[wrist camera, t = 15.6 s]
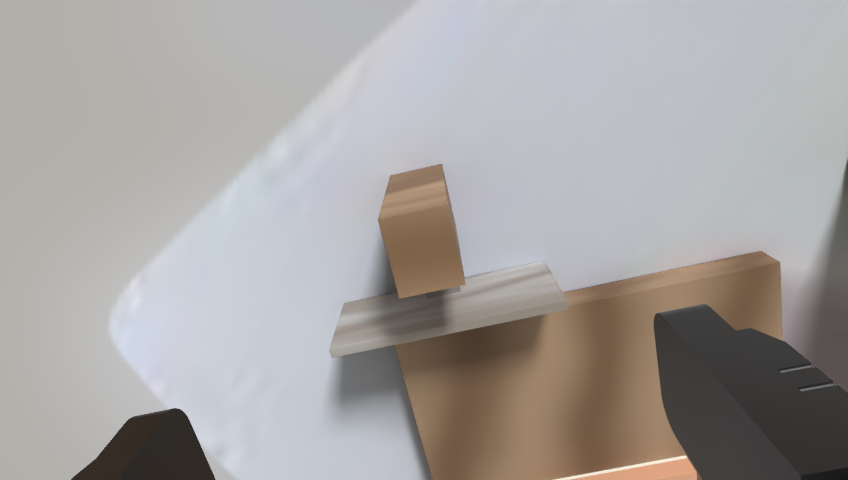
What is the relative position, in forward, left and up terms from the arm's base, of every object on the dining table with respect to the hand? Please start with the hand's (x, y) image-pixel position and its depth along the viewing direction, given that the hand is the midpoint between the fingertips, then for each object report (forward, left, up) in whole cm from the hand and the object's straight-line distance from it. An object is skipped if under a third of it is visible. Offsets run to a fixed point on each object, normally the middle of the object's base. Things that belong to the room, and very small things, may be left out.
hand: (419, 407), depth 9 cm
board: (-6, +16, -17) cm, 24 cm away
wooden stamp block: (0, +2, -17) cm, 17 cm away
